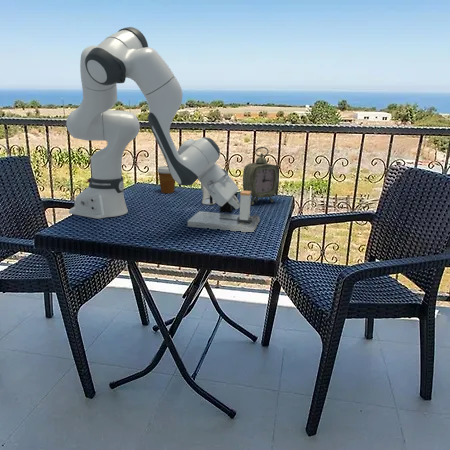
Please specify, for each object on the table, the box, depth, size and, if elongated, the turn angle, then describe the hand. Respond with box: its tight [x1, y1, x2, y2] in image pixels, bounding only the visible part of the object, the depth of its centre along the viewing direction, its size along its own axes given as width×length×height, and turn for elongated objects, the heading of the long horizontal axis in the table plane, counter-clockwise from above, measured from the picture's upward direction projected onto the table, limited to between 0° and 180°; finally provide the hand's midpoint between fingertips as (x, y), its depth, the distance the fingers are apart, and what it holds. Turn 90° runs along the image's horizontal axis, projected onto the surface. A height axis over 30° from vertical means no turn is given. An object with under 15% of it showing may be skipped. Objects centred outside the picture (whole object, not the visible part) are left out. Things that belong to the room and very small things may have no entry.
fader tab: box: [237, 190, 252, 222], centre depth 140 cm, size 5×4×10 cm
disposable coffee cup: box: [156, 165, 176, 194], centre depth 189 cm, size 10×10×12 cm
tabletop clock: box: [242, 146, 280, 206], centre depth 173 cm, size 14×9×25 cm, turn 120°
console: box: [187, 210, 260, 233], centre depth 143 cm, size 24×14×4 cm, turn 76°
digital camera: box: [219, 192, 238, 214], centre depth 163 cm, size 10×5×7 cm, turn 170°
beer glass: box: [201, 184, 217, 206], centre depth 170 cm, size 7×7×15 cm
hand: (239, 207), depth 140 cm, fingers closed
